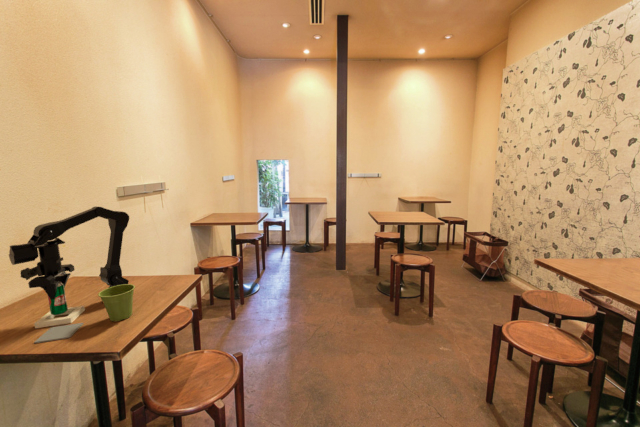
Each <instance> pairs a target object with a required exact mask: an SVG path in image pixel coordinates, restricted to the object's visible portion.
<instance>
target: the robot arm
mask: <svg viewBox="0 0 640 427" xmlns="http://www.w3.org/2000/svg"><path fill="white" fill-rule="evenodd" d="M97 218H102V219H106V220H107V221H108V226H109V229H110V234H109V242H108V243H109V244H108V251H107V259H106V264H105V265H104V266H101V267H100V271H99V272H100V273H99V276H98V277H99V278H100V280H101V281H102V282H103V283H104V284H106V286H108V287H107V288H110V287H113V286H117V285H123V284H129V279H127V278H125V277H123V270H122V267H121V265H120V263H121V254H122V245H123V237H124V232H125V230H126V229H127V227H128V225H129V222H130V215H129V214H128V213H127V212H125V211H119V210H118V211H117V210H112V209H108V208H104V207H103V206H92V207H91V208H89V209H87V210H84V211H81V212H79V213H76V214H74V215H71V216H68V217H66V218H64V219H60V220H56V221H52V222H46V223H41V224H39V225H37V226H36V227H34V230H33V234H32V236H31V237H30V238H29V239H28V241H27V243H22V244H13V245H11V244H10V245H9V252H8V253H9V254H8V257H9V261H10V263H11V265H12V266H15V265H19V264H24V263H29V262H34V261H36V259H38V258H39V260H40V261H38V262H37V263H36V266H33V267H31V268H30V267H26V268H24V269H22V270H20V278H22V279H25V280H26V281H27V280H30V281H28V283H27V284H28V288H29V289H33V288H41V289H42V290H44V292H45V294H46V295H47V297H48V296H49V297H50V299H55V296H56V292H57V287H58V282H59V281H61V282H62V283H63V284H64V289H65V288H66V285H67V282H68V280H69V278H70V276H71V274H72V272H74V271H75V270H76V268H75V266H74V265H73V264H71V263H69V264H68V263H67V264H62V261H64V257H61V254H60V247H59V245H63V244H66V241H64V240H62V239H61V238H59V237H60V236H62V235H63V234H64V233H66V232H68V230H70V229H73V228H75V227H77V226H79V225H82V224H85V223H87V222H89V221H91V220H94V219H97ZM67 272H69V273H67ZM33 277H34V278H33Z"/></svg>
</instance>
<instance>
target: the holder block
mask: <svg viewBox="0 0 640 427" xmlns="http://www.w3.org/2000/svg"><path fill="white" fill-rule="evenodd" d="M85 311H86V308H85V305H79V306H78V305H77V306H71V307H68V310H67V311H66V312H65V313H63V314H59V315H52V314H51V312H50V311H48V312H47V313H45V315H43V316H42V317H40V318H39V319H38V320H36V321H35V322H34V328H35V329H40V328H46V327H56V326H63V325H70V324H73V322H74V321H75V320H77V319H78V317H79V316H81V315H82V314H83V313H84V312H85ZM65 315H67V316H65ZM58 316H59V317H58ZM60 316H62V317H60Z"/></svg>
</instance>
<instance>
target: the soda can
mask: <svg viewBox="0 0 640 427" xmlns="http://www.w3.org/2000/svg"><path fill="white" fill-rule="evenodd" d="M47 300H48V306H49V312H51V314H52V315H59V314H63V313H65V312H66V311H67V310H68V308H69V307H68V301H67V297H66V290H65V288H64V284H63V283H62V282H61V281H59V282H58V287H57V292H56V296H55V299H50V297H49V296H48V295H47Z"/></svg>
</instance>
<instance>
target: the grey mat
mask: <svg viewBox="0 0 640 427" xmlns="http://www.w3.org/2000/svg"><path fill="white" fill-rule="evenodd" d="M83 325H84V322H79V323H70V324H63V325H56V326H50V328H48V329H47V330H46V331H45V332H44V333H43V334H41V335H40V336H39V338H37V339H36V340H34V342H33V343H34V344H39V343H47V342H52V341H60V340H66V339H71V337H73V335H74V334H76V333H77V331H79V329H80V328H81V327H82V326H83Z"/></svg>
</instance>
